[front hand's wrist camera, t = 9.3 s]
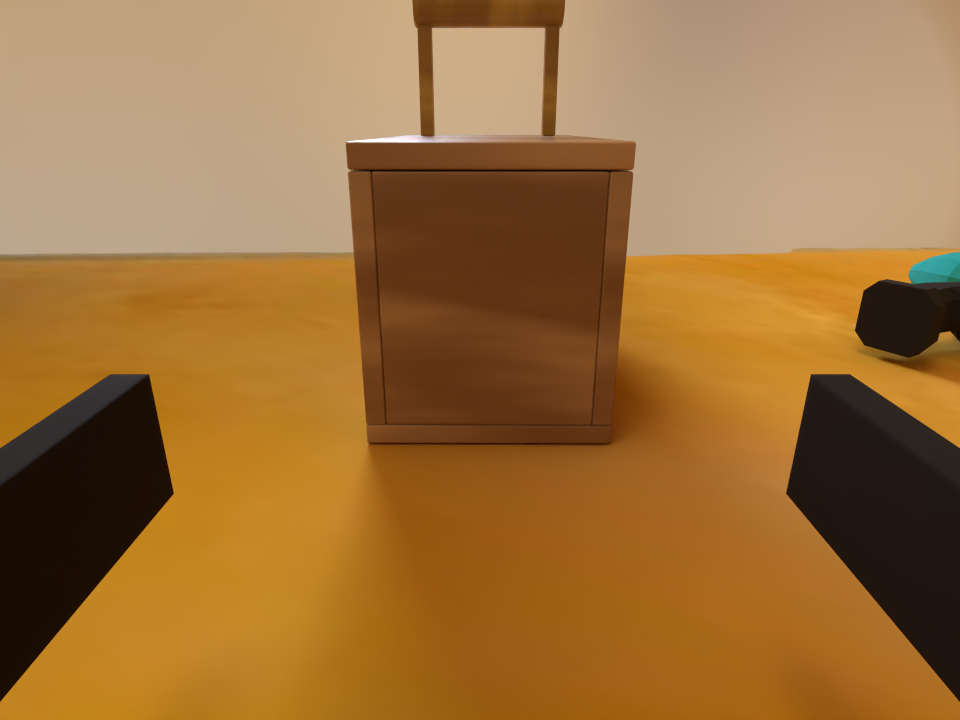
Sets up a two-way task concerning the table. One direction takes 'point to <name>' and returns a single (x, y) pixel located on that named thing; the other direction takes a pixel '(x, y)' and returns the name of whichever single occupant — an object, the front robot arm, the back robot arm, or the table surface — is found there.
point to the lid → (489, 7)
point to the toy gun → (912, 308)
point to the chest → (489, 302)
